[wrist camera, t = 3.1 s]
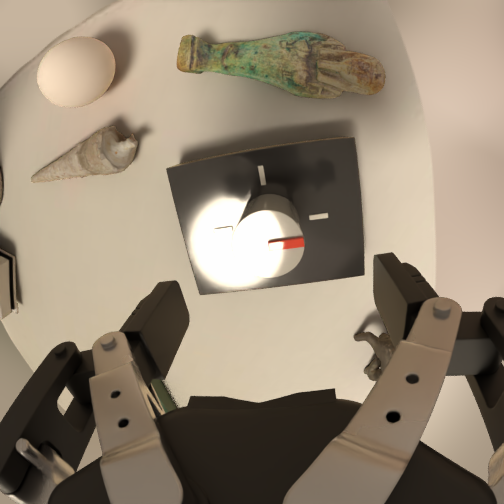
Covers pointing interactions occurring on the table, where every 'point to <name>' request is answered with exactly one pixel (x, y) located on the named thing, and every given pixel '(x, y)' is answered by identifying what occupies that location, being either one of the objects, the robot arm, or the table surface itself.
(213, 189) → the black dial control panel
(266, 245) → the knob
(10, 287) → the white box device
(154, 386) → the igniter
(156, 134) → the table surface
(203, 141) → the table surface
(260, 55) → the figurine
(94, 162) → the seashell
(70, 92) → the egg
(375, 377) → the grey animal-shaped piece
